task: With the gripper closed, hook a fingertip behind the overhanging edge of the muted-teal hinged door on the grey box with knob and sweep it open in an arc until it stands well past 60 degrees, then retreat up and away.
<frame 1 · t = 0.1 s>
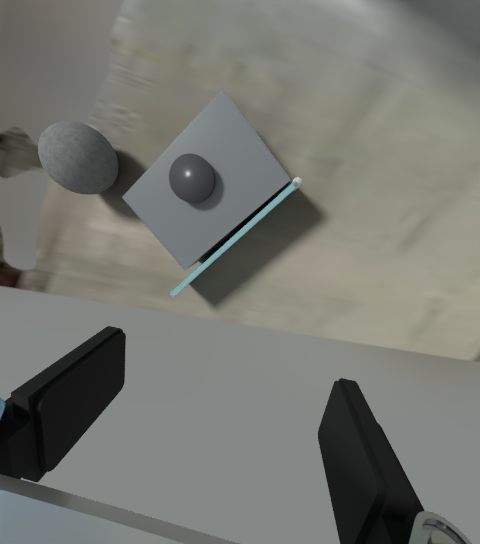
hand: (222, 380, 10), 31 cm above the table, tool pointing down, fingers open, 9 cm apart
decorative ball: (105, 166, 40), on the table
case door: (233, 240, 36), point 4 cm above the table, hinge at 2.0°
grey box with knob: (213, 193, 38), on the table
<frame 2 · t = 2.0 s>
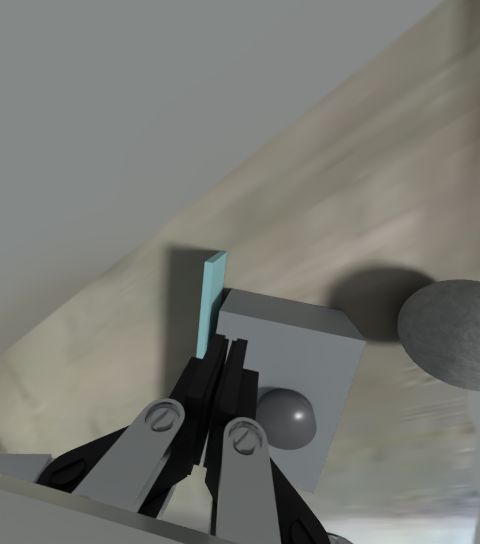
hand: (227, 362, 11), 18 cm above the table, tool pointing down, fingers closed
decorative ball: (425, 310, 26), on the table
case door: (206, 358, 28), point 4 cm above the table, hinge at 2.0°
grey box with knob: (270, 366, 31), on the table
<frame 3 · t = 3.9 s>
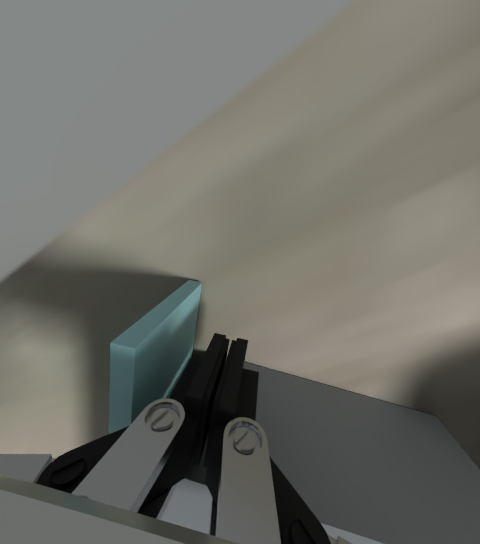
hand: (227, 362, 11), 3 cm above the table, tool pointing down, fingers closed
case door: (151, 498, 13), point 4 cm above the table, hinge at 2.7°, touching gripper
grey box with knob: (278, 491, 17), on the table
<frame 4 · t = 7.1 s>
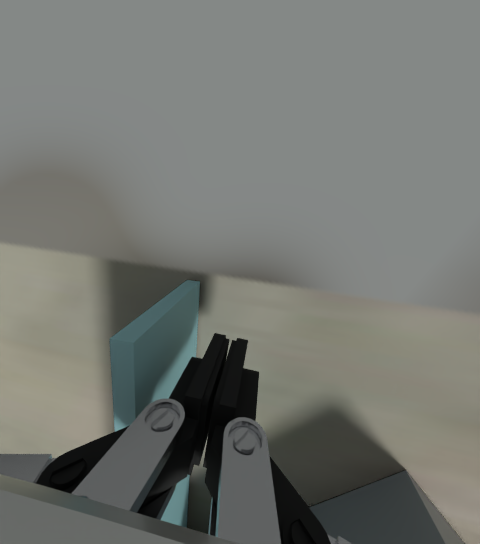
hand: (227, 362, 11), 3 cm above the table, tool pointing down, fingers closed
case door: (165, 500, 13), point 4 cm above the table, hinge at 45.5°, touching gripper
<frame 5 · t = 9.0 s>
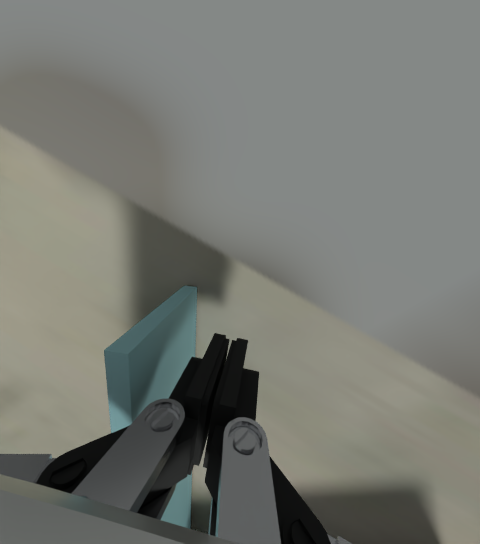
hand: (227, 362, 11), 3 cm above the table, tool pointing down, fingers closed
case door: (167, 506, 13), point 4 cm above the table, hinge at 68.8°, touching gripper
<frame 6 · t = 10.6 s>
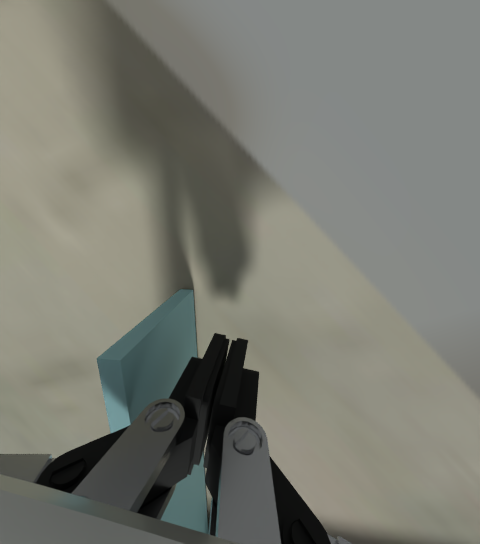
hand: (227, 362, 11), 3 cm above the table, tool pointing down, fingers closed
case door: (180, 511, 13), point 4 cm above the table, hinge at 89.5°, touching gripper
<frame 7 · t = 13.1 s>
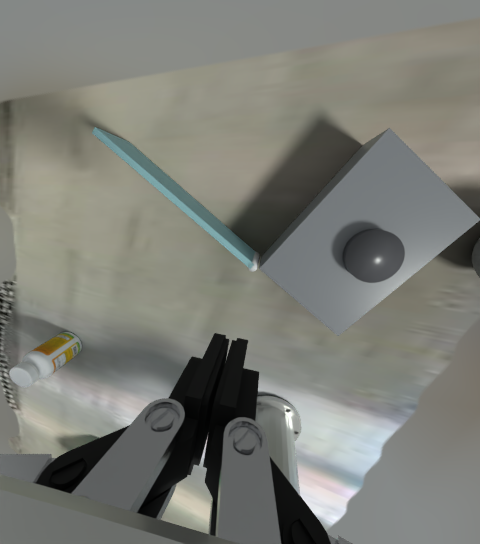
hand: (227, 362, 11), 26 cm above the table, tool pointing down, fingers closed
supplement bottle: (71, 342, 46), on the table
case door: (187, 203, 31), point 4 cm above the table, hinge at 89.7°
grey box with knob: (342, 237, 33), on the table
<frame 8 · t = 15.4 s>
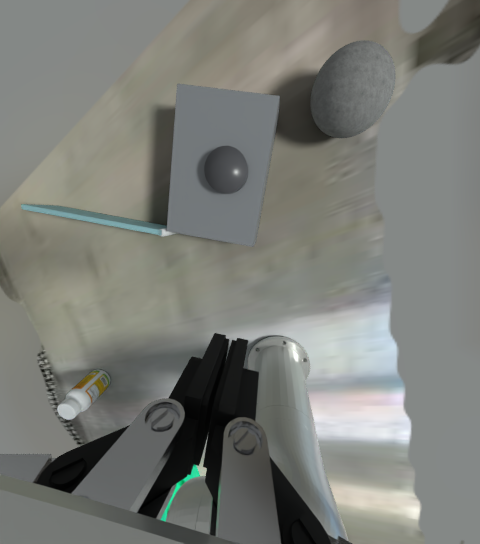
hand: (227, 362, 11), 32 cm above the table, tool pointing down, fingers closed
decorative ball: (338, 111, 35), on the table
supplement bottle: (101, 377, 55), on the table
case door: (105, 219, 40), point 4 cm above the table, hinge at 89.7°
camera mount: (185, 469, 59), on the table
grey box with knob: (226, 177, 39), on the table
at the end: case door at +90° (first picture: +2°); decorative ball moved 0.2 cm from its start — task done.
